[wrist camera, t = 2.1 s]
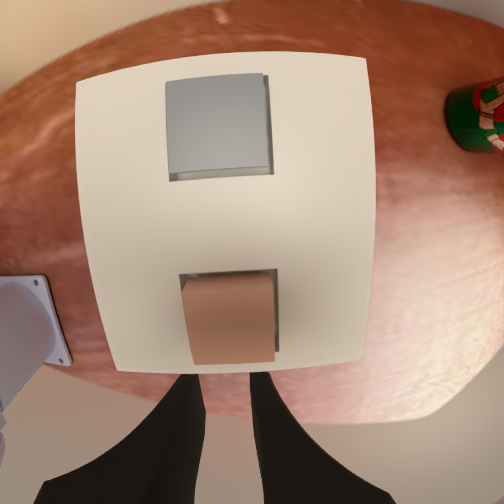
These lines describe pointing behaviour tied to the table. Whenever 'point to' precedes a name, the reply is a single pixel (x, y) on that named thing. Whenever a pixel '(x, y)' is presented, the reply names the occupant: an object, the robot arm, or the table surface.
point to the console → (231, 210)
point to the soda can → (478, 116)
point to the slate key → (216, 123)
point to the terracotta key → (230, 319)
